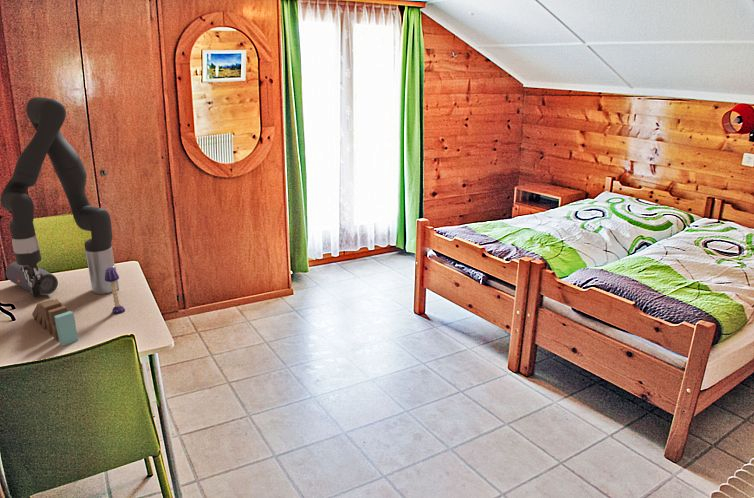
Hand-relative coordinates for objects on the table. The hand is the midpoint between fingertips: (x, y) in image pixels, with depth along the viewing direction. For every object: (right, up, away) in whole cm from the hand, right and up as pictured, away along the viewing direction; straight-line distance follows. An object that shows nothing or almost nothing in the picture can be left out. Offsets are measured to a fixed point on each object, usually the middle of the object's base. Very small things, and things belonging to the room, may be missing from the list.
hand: (36, 295), depth 203 cm
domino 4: (+11, -11, -7) cm, 18 cm away
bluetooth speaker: (-15, 0, +24) cm, 28 cm away
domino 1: (0, -7, +2) cm, 7 cm away
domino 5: (+15, -13, -11) cm, 23 cm away
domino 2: (+4, -8, -1) cm, 9 cm away
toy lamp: (+25, -6, +7) cm, 27 cm away
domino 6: (+19, -14, -14) cm, 28 cm away
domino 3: (+7, -10, -4) cm, 13 cm away
